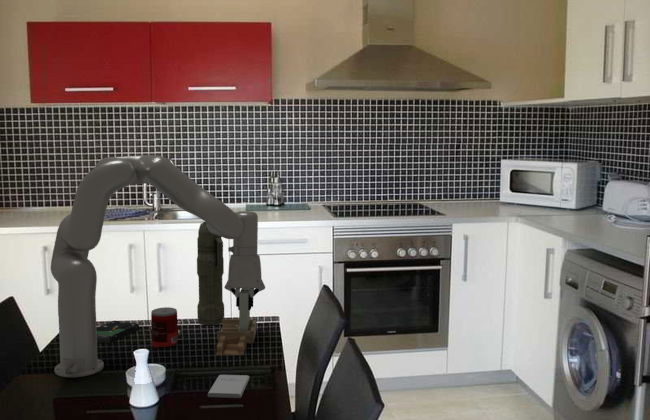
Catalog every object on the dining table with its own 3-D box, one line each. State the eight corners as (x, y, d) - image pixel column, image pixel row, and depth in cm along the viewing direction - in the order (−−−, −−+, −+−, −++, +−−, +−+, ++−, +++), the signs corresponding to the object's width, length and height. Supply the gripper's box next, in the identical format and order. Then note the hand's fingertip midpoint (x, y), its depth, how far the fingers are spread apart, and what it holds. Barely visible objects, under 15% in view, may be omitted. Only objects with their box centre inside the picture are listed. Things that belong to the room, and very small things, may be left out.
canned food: (176, 340, 202) (175, 306, 201) (179, 348, 195) (178, 313, 193) (151, 342, 200) (150, 308, 198) (152, 351, 192) (151, 315, 191)
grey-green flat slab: (247, 332, 199) (247, 293, 197) (239, 331, 199) (239, 293, 197) (249, 323, 208) (250, 287, 206) (241, 323, 208) (242, 287, 206)
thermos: (214, 330, 212) (212, 225, 208) (189, 324, 219) (187, 222, 215) (233, 324, 219) (232, 222, 215) (208, 318, 226) (207, 219, 222)
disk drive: (113, 328, 216) (83, 340, 202) (113, 320, 216) (82, 332, 202) (139, 331, 213) (110, 344, 199) (139, 323, 213) (110, 335, 199)
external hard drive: (207, 399, 159) (219, 379, 171) (240, 400, 159) (249, 380, 171) (207, 392, 159) (218, 374, 171) (240, 393, 158) (249, 374, 171)
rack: (253, 346, 197) (253, 332, 197) (217, 346, 197) (216, 332, 196) (256, 332, 211) (256, 319, 210) (222, 332, 211) (222, 319, 210)
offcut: (235, 335, 198) (235, 328, 198) (221, 335, 198) (221, 329, 197) (235, 330, 203) (235, 324, 203) (222, 330, 203) (222, 324, 202)
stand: (243, 358, 187) (243, 346, 186) (215, 358, 186) (215, 346, 186) (246, 346, 196) (246, 335, 196) (220, 347, 196) (220, 335, 196)
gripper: (217, 252, 196) (217, 311, 198) (270, 253, 197) (269, 312, 199) (220, 248, 204) (220, 305, 206) (271, 249, 205) (271, 306, 207)
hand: (244, 308), depth 202 cm, fingers closed on grey-green flat slab, 2 cm apart
